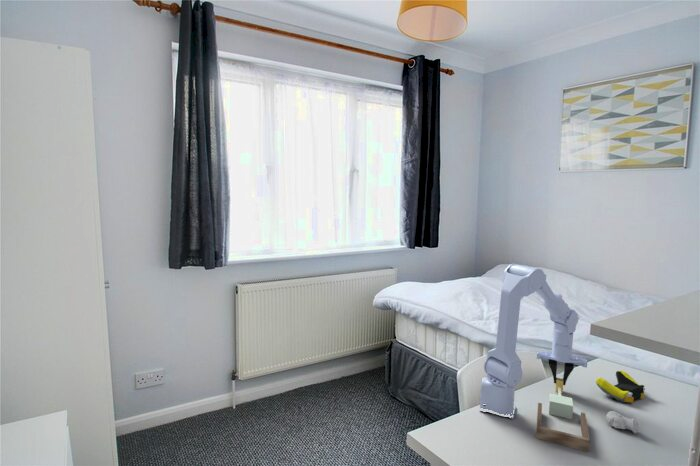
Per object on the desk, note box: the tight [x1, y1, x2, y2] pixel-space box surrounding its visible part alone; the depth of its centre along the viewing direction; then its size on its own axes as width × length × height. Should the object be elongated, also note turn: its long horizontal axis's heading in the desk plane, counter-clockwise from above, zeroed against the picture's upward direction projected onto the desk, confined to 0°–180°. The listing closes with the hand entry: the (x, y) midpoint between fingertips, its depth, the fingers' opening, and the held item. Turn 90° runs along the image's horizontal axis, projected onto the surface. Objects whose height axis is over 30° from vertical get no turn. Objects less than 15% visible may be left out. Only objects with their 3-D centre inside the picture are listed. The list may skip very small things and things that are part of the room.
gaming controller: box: [595, 370, 647, 404], centre depth 128 cm, size 15×6×10 cm
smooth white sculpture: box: [605, 410, 640, 435], centre depth 110 cm, size 4×8×5 cm
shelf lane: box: [535, 402, 590, 452], centre depth 109 cm, size 12×14×3 cm
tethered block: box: [548, 377, 574, 420], centre depth 123 cm, size 6×18×4 cm, turn 153°
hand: (559, 383), depth 131 cm, fingers closed on tethered block, 2 cm apart
